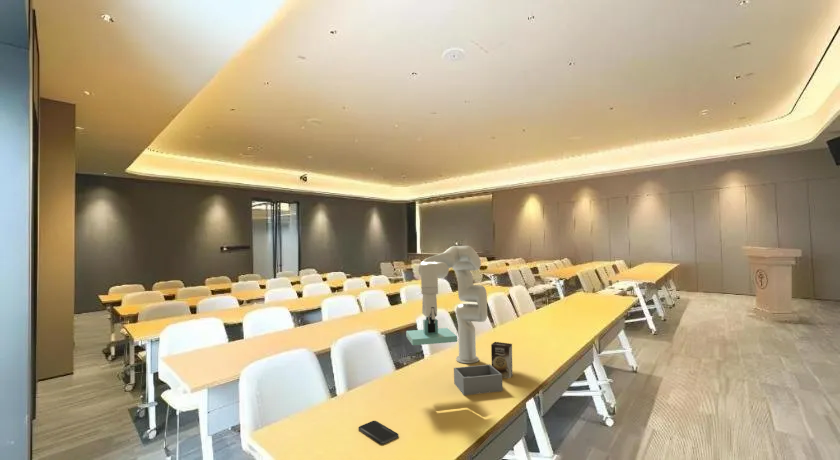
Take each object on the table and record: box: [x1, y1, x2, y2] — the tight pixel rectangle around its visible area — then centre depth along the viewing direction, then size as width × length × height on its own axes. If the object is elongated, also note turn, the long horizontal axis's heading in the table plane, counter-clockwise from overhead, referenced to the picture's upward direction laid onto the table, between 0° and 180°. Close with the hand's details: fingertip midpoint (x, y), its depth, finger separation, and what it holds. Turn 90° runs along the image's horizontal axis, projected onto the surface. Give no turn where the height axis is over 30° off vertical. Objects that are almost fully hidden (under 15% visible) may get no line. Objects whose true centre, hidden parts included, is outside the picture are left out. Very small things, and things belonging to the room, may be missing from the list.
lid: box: [405, 318, 458, 346], centre depth 168 cm, size 16×20×8 cm
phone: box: [358, 420, 399, 446], centre depth 132 cm, size 8×1×15 cm
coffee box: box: [490, 341, 513, 379], centre depth 184 cm, size 9×6×16 cm
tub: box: [453, 363, 504, 396], centre depth 170 cm, size 14×18×8 cm
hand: (430, 331), depth 168 cm, fingers closed on lid, 3 cm apart
